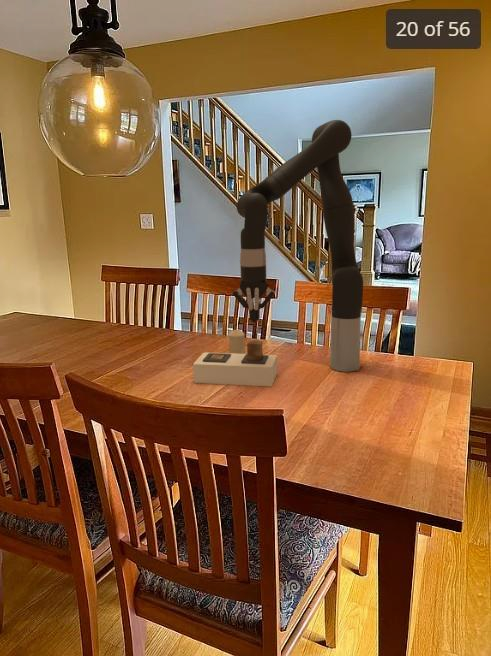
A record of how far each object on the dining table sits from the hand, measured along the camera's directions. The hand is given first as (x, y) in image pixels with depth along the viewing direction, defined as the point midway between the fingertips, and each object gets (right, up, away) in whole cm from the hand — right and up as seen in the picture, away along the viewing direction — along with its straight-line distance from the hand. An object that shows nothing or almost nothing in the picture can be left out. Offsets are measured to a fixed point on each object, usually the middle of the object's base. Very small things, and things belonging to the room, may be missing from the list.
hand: (254, 321), depth 148 cm
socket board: (-5, -17, +6) cm, 19 cm away
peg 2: (0, -13, +3) cm, 13 cm away
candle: (-6, -13, +25) cm, 29 cm away
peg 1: (-11, -17, +7) cm, 22 cm away
